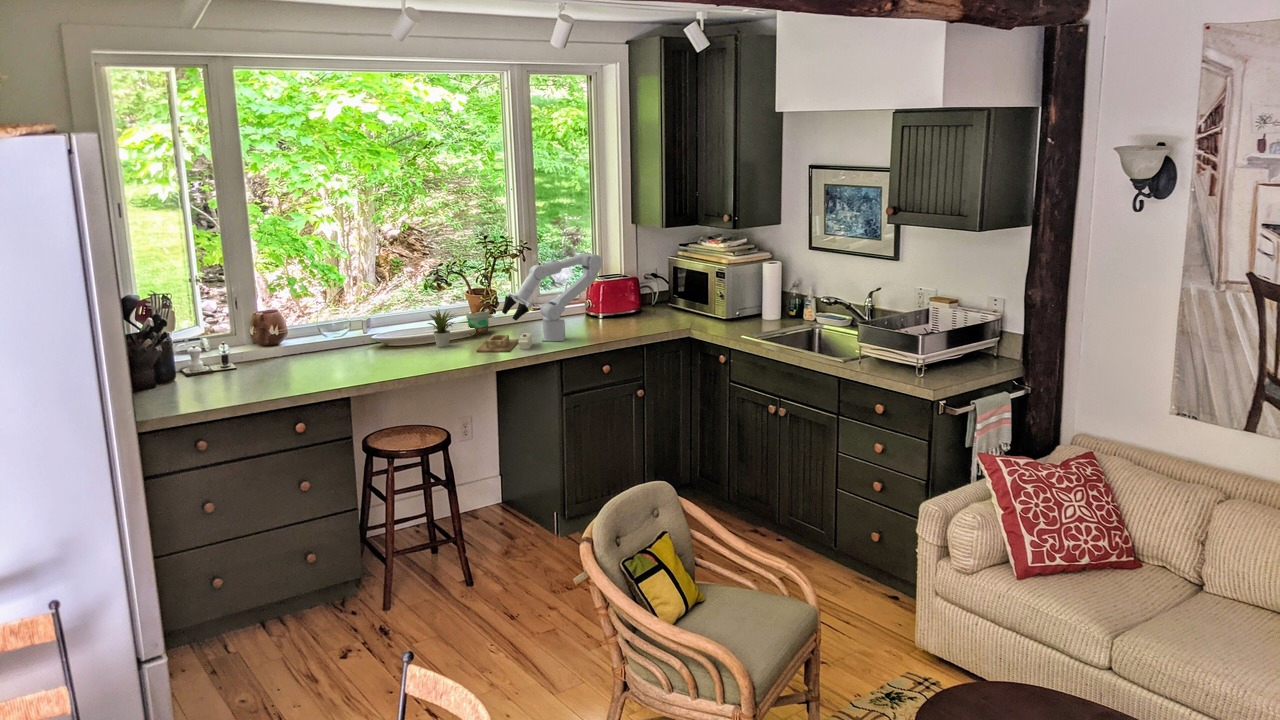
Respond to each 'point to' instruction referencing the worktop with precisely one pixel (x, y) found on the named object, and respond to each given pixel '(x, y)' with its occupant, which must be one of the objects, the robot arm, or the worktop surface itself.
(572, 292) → the robot arm
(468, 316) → the food container
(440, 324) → the house plant
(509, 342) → the chassis board
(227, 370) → the worktop surface
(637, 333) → the worktop surface
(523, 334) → the servo block
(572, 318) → the worktop surface
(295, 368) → the worktop surface
